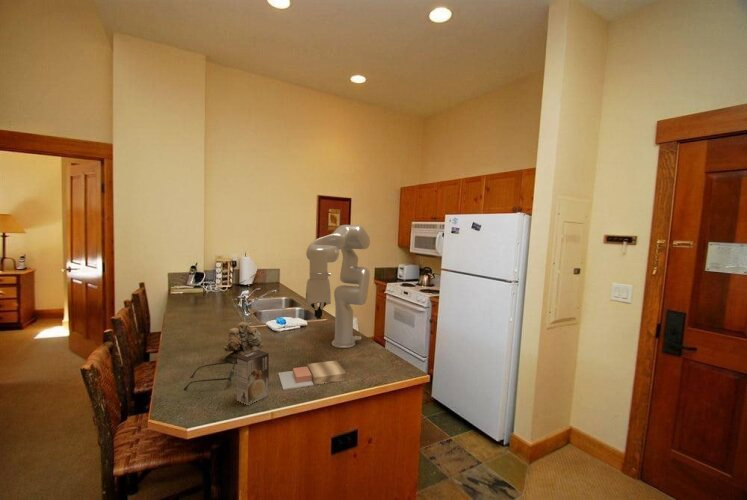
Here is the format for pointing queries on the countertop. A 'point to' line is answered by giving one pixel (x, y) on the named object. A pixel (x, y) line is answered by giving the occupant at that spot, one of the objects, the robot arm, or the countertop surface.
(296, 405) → the countertop surface
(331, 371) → the plate
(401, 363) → the countertop surface
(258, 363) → the coffee box
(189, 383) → the sunglasses
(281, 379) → the mat
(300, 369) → the salmon pink rectangular block
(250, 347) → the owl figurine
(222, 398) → the countertop surface
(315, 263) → the robot arm
